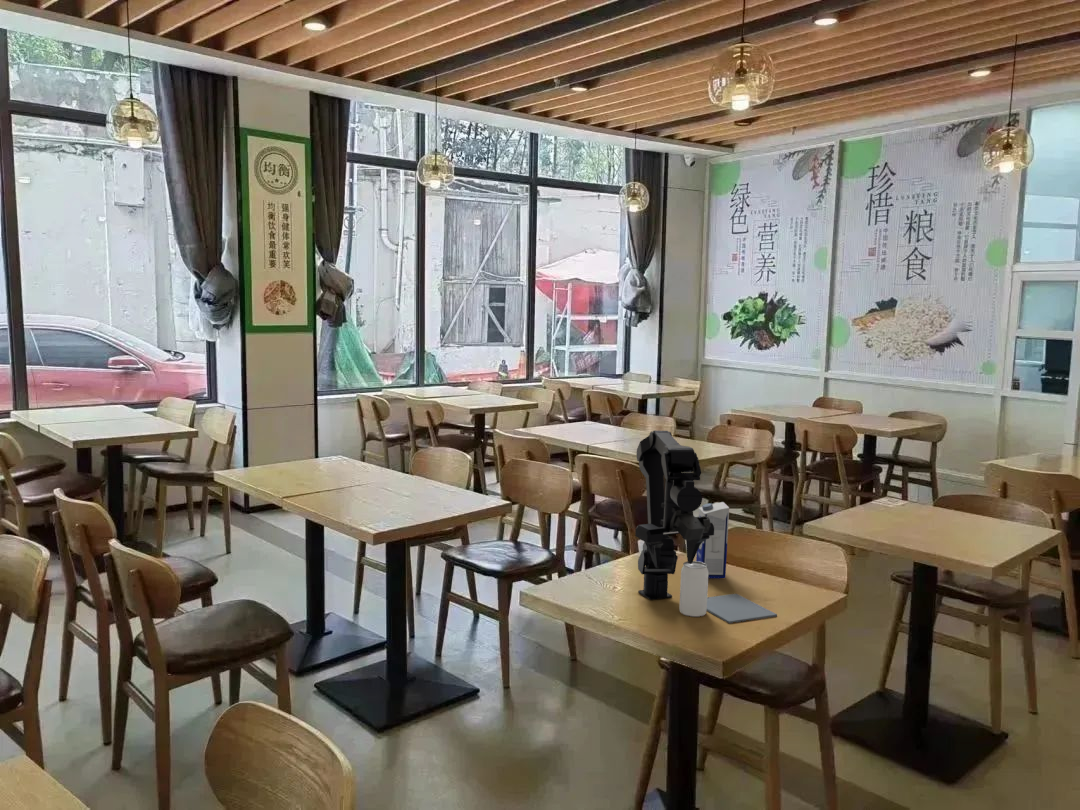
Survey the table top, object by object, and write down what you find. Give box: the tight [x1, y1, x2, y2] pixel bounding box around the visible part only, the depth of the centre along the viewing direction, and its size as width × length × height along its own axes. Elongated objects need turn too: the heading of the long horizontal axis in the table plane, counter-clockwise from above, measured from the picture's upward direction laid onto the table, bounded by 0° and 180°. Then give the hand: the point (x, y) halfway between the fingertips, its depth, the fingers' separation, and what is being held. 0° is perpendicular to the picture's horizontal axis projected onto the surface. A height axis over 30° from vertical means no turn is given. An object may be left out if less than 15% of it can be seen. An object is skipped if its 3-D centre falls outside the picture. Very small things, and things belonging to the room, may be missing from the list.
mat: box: [706, 593, 778, 624], centre depth 213 cm, size 16×14×1 cm
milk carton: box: [695, 501, 730, 579], centre depth 239 cm, size 7×7×20 cm
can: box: [678, 560, 709, 618], centre depth 208 cm, size 6×6×12 cm
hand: (673, 565), depth 203 cm, fingers open, 9 cm apart
